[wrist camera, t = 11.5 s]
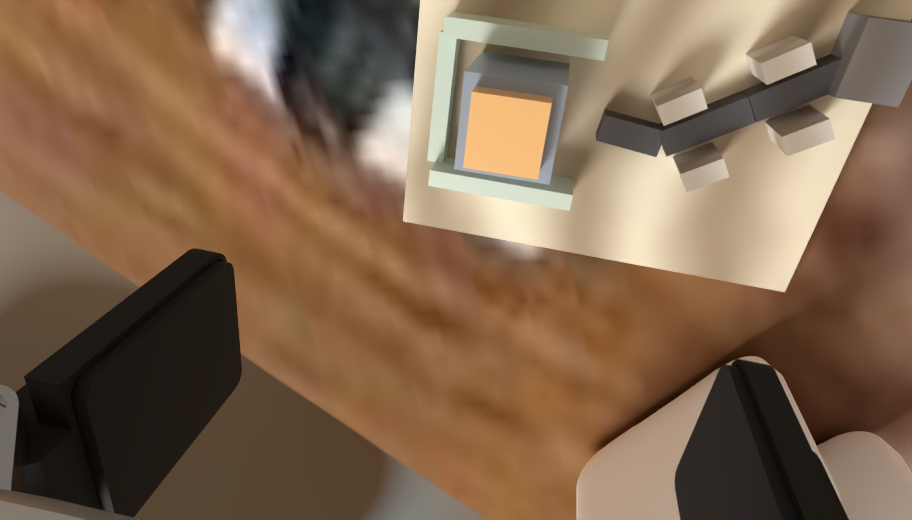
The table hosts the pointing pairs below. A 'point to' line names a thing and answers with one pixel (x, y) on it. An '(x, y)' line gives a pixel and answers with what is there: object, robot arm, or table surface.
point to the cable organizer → (665, 438)
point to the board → (682, 127)
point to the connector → (511, 116)
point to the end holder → (445, 77)
